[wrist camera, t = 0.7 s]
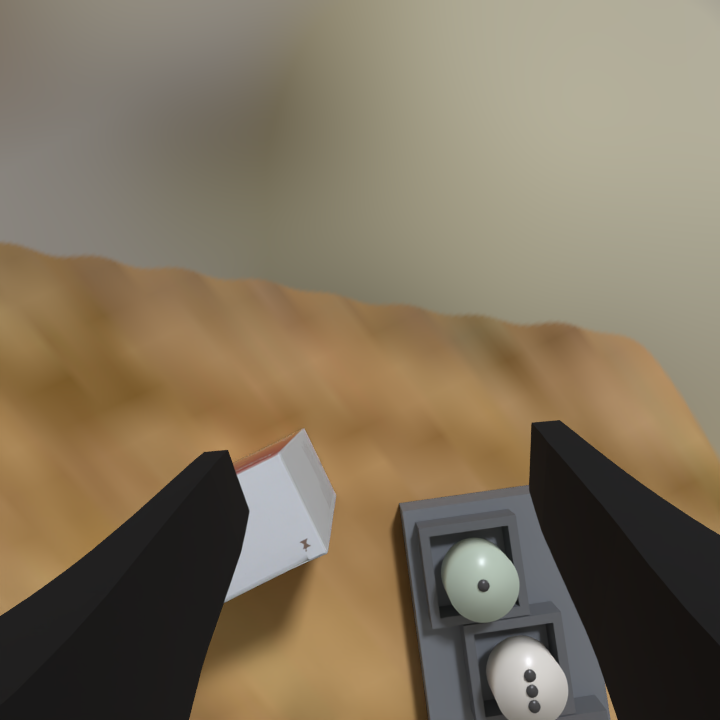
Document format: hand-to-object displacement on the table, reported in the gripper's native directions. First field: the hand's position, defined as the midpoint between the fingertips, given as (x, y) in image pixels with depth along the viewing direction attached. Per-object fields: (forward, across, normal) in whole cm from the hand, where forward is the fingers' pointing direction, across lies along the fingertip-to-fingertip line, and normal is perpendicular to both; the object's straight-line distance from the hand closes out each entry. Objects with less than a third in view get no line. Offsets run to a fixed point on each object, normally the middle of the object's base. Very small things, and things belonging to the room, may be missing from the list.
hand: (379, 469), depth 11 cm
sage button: (+11, -4, +19) cm, 22 cm away
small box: (+16, +10, +14) cm, 23 cm away
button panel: (+11, -5, +26) cm, 29 cm away
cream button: (+8, -6, +24) cm, 26 cm away
